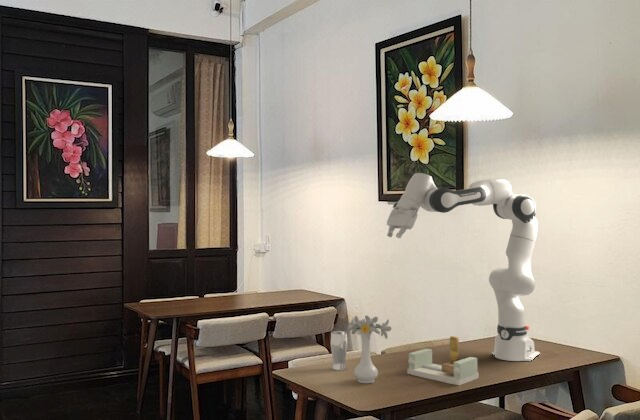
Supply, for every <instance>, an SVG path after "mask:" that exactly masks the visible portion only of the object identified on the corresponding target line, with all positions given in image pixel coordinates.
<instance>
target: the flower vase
mask: <svg viewBox="0 0 640 420" xmlns="http://www.w3.org/2000/svg"><path fill="white" fill-rule="evenodd" d="M364 317H365V319H364V318H363V319H360V318H359V316H357V315H355V316H354V317H352V319H351V322H349V323H348V324H347V329H346V330H347V331H345V332H346V333H347V334H348V333H349V332H350V331H351V335H355V334H357V335H360V337H361V357H360V361H359V363H358V364H357V365H356V367H355V368H354V370H353V375H354V377H355V379H357V382H358V383H360V384H372V383H374V382H375V380H376V378H377V377H378V376H379V371H378V368H377V367H376V366H375V365H374V364H373V362H372V358H371V352H370V351H371V348H370V347H371V346H370V345H371V343H370V342H371V336H372V334H373V333H372V332H374V333H376V334H377V335H379V336H381V337H384V338H385V340H387V339H388V333H387V332H390V331H392V326H389V323H390V320H389V319H387V320H386V321H385V322H382V323H381V324H380V323H377V322H378V321H379V318H378V316H374V317H373V318H372V317H370V316H369V315H365V316H364ZM346 333H345V334H346Z"/></svg>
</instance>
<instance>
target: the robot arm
mask: <svg viewBox="0 0 640 420" xmlns="http://www.w3.org/2000/svg"><path fill="white" fill-rule="evenodd" d="M464 205H473V206H479V207H481V206H491V205H492V210H493V212H494V214H495V215H496V216H497V217H498V218H500V219H503V220H511V224H512V228H511V231H510V233H509V238H508V241H507V246H506V251H505V255H506V257H507V260H508V266H507V267H500V268H495V269H493V270H492V271H491V272H490V274H489V276H488V283H489V285H490V286H491V288H492V289H493V293H494V295H495V299H496V303H497V311H498V312H497V314H498V320H497V321H498V323H497V327H496V329H497V335H496V336H495V337H494V347H493V348H494V349H493V350H494V351H491V355H492V354H493V355H492V356H494V355H495V356H494V357H495V358H496V359H497V360H502V361H509V362H510V361H511V362H532V361H534V360H535V359H536V358H537V357H536V356H537V355H539V354H540V355H541V352H540V351H538V350H537V351H536V350H535V341H534V340H532V338H531V337H530V336H529V335H528V332H527V331H529V330H530V325H527V324H526V325H525V319H526V317H525V315H526V314H525V311H526V310H525V306H524V305H523V304H522V302H521V300H520V297H521V296H523V297H524V296H529V295H530V294H531V293H533V292H534V290H535V288H536V281H535V278H534V276H533V272H532V258H533V253H534V248H535V244H536V241H537V236H538V229H539V228H538V227H539V222H538V219H537V218H536V211H537V206H536V201H535V200H534V198H533V197H532V196H529V195H526V194H515V193H513V191H512V185H511V184H510V182H509V181H508V180H506V179H502V178H489V179H482V180H478V181H474V182H472V183H470V184H469V186H468V188H464V189H458V190H454V189H451V188H448V187H442V188H441V187H440V188H438V187H437V186H436V184H435V182H434V180H433V177H432V176H431V175H430V174H428V173H425V172H415V173H414V174H412V176H411V177H410V179H409V181H408V183H407V185H406V186H405V191H404V193H403V194H402V195H401V196H400V199H399V200H397V202H395V203H393V205H392V209H391V212H390V214H389V215H388V219H387V220H386V226H388V232H387V234H386V236H387V237H388V238H392V237H393V235H394V231H395V230H396V229H397V230H398V229H399V230H398V232H397V233H396V235H395V237H396V238H397V239H401V238H402V237H403V235H404V234H405V232H407V230H412V229H413V227H414V225H415V223H416V221H417V218H418V212H419V210H420V208H422V209H423V210H424V211H427V212H432V213H442V214H444V213H445V214H446V213H449V212H451V211H452V210H453V209H455V208H457V207H458V206H464ZM540 355H539V356H540ZM535 357H536V358H535ZM534 358H535V359H534ZM533 359H534V360H533ZM531 360H532V361H531Z"/></svg>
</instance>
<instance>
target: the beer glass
mask: <svg viewBox="0 0 640 420" xmlns="http://www.w3.org/2000/svg"><path fill="white" fill-rule="evenodd" d="M346 332H347V331H342V330H335V331H331V333H330V351H331V355H332V365H331V370H333V371H339V372H341V371H346V370H347V368H348V367H347V361H346V360H347V351H348V332H347V333H346ZM345 333H346V334H345Z"/></svg>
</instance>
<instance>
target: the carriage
mask: <svg viewBox="0 0 640 420" xmlns="http://www.w3.org/2000/svg"><path fill="white" fill-rule="evenodd" d="M459 339H460V338H459V337H458V336H452V335H451V336H450V337H449V356H450V357H449V361H446V362H444V363H441V365H442V372H445V373H449V374H454V372H453V369H454V362H456V361H459V360H460V359H459V356H460V355H459V349H460V348H459V346H460V345H459V341H460V340H459Z"/></svg>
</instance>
